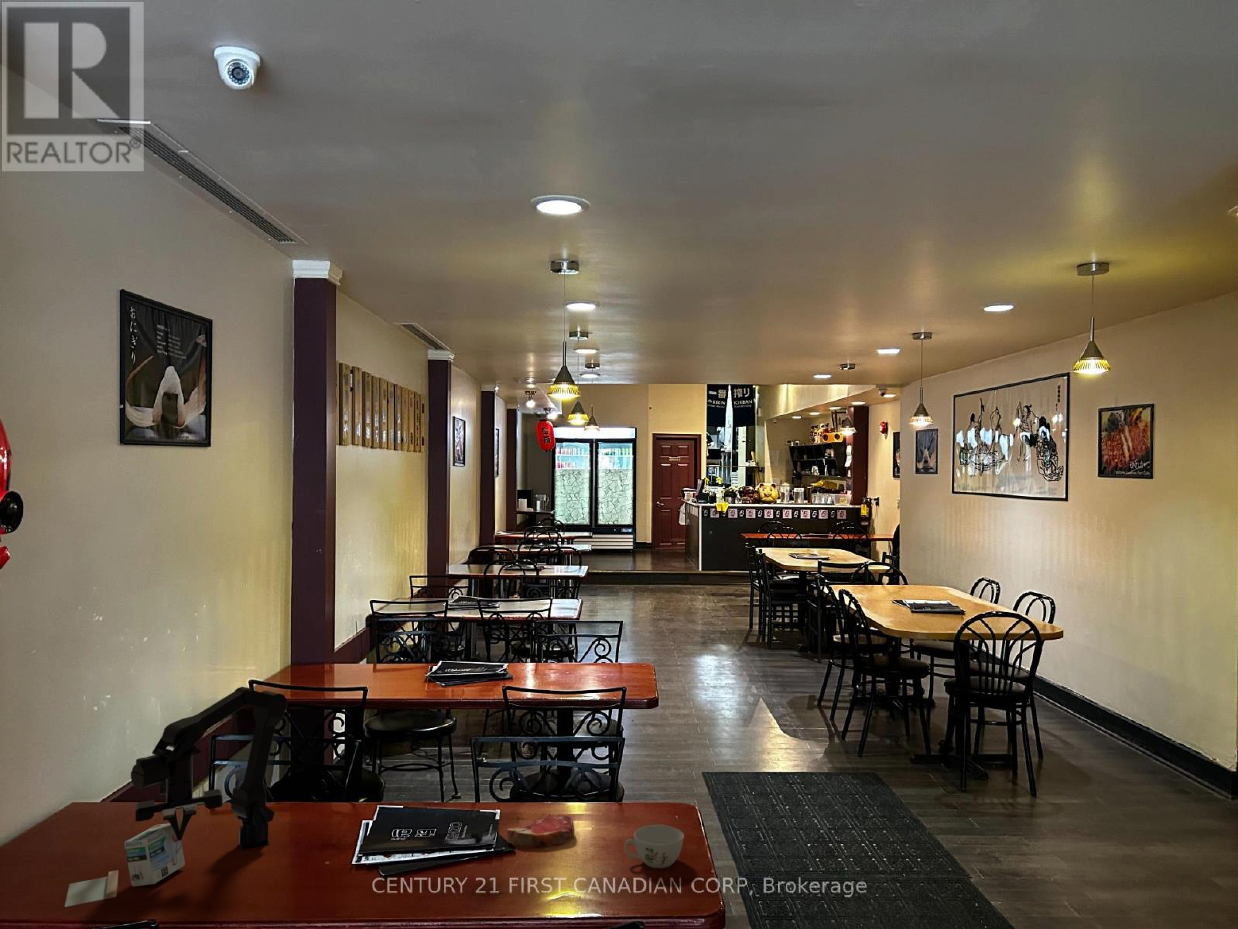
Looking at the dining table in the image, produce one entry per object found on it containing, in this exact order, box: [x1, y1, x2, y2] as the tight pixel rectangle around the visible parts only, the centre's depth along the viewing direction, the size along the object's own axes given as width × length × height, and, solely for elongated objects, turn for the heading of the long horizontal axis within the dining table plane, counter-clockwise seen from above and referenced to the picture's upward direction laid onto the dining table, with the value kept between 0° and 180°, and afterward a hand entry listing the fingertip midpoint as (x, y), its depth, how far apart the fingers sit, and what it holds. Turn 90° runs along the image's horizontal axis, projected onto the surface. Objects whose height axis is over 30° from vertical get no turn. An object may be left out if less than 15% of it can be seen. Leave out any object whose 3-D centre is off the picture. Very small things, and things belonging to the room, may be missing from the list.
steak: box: [506, 814, 575, 849], centre depth 227 cm, size 25×21×6 cm
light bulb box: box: [123, 822, 186, 887], centre depth 206 cm, size 11×7×11 cm, turn 168°
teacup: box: [623, 824, 685, 869], centre depth 214 cm, size 15×12×8 cm
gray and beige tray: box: [64, 869, 119, 908], centre depth 199 cm, size 10×12×2 cm
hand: (179, 840), depth 208 cm, fingers closed
